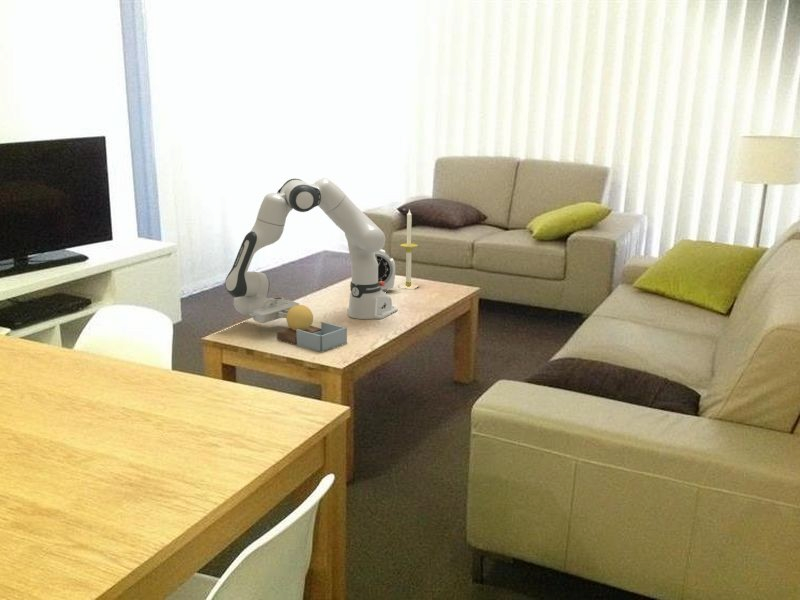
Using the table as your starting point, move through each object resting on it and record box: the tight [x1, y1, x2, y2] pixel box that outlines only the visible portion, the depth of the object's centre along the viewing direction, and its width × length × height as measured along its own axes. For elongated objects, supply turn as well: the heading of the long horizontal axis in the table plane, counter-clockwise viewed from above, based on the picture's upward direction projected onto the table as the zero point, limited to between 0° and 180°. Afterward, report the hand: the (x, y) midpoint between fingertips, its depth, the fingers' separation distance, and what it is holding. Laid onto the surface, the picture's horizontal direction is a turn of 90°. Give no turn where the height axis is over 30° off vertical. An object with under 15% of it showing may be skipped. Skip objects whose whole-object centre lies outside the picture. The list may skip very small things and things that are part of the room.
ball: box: [285, 304, 314, 331], centre depth 303 cm, size 10×10×10 cm
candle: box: [399, 208, 419, 287], centre depth 380 cm, size 10×10×38 cm
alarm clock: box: [375, 248, 396, 293], centre depth 373 cm, size 18×8×20 cm, turn 90°
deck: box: [276, 325, 321, 346], centre depth 305 cm, size 14×10×3 cm
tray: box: [296, 321, 348, 353], centre depth 298 cm, size 14×13×6 cm
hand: (290, 315), depth 307 cm, fingers closed
